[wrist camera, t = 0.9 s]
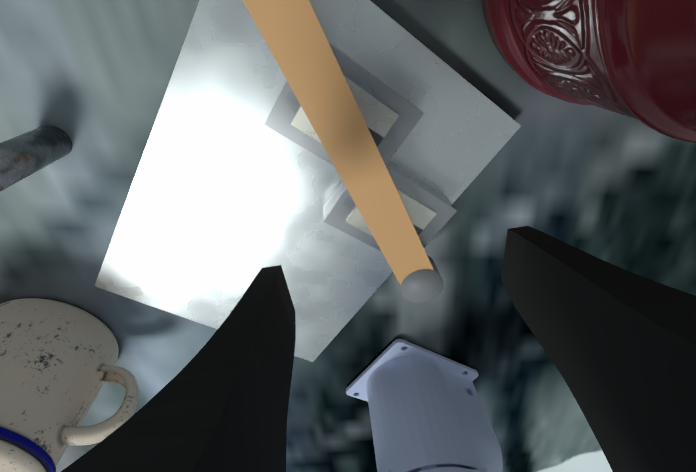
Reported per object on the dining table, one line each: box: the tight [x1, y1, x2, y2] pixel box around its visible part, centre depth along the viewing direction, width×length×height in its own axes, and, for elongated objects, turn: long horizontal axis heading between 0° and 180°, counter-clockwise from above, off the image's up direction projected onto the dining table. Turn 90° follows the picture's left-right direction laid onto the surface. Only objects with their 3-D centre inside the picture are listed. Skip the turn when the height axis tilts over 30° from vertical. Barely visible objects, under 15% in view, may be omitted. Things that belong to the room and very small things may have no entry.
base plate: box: [0, 0, 521, 362], centre depth 18 cm, size 21×22×4 cm
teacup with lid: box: [0, 298, 139, 472], centre depth 21 cm, size 12×9×12 cm
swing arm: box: [243, 0, 443, 304], centre depth 16 cm, size 20×3×4 cm, turn 26°
